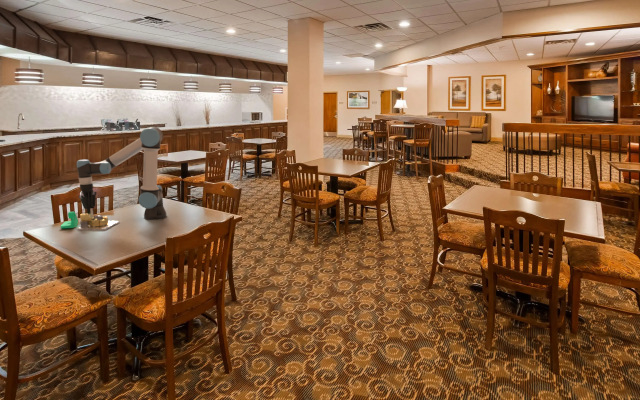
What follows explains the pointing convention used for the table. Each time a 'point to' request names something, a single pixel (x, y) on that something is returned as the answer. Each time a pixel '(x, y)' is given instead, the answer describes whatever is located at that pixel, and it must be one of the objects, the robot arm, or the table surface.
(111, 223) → the housing
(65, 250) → the table surface
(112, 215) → the table surface
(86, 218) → the gold lumpy cluster
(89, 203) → the robot arm
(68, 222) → the camera mount
